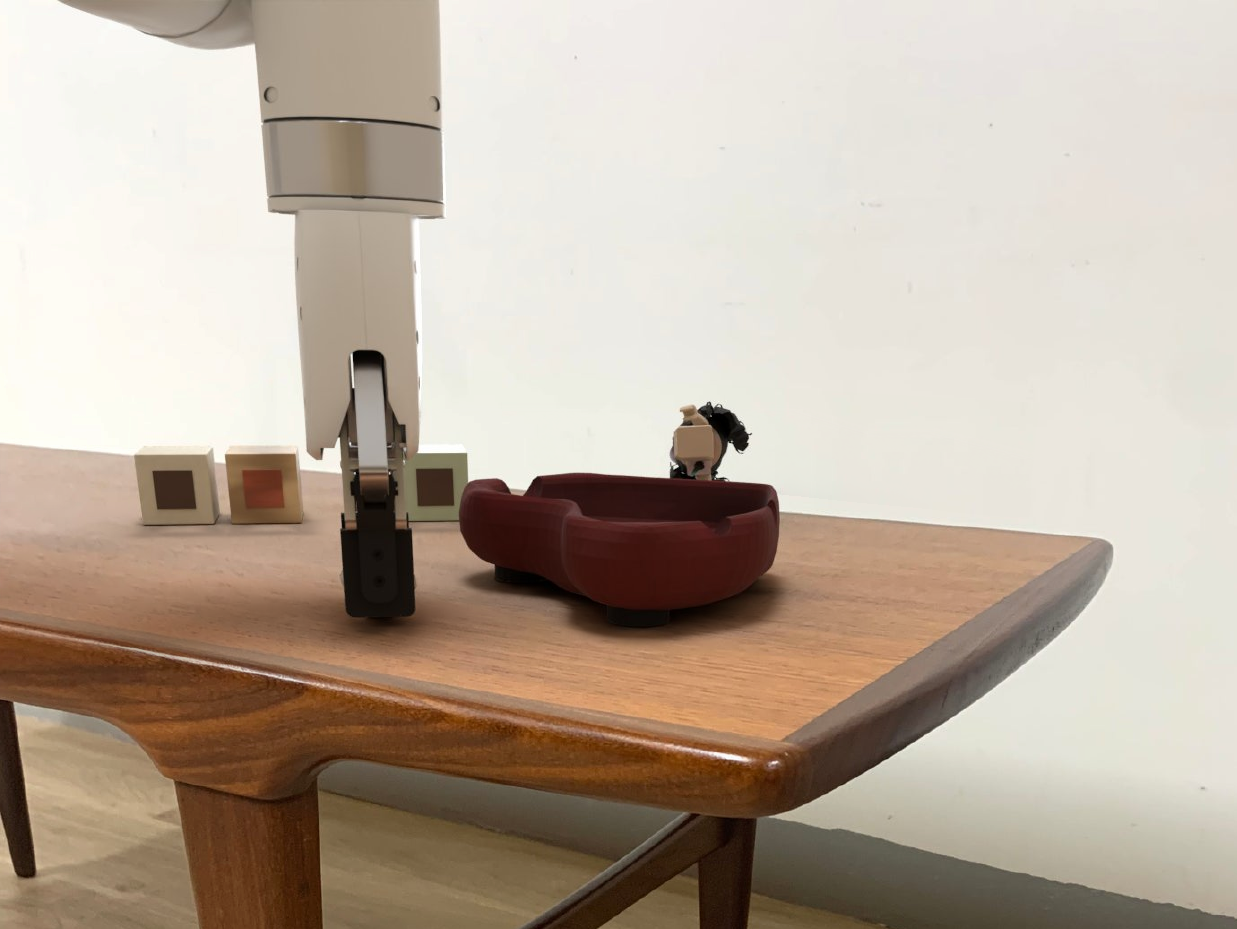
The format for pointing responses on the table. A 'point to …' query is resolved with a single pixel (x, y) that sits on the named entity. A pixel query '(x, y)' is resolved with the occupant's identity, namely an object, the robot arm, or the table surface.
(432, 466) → the block
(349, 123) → the robot arm
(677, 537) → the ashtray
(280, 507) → the block
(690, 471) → the toy figure
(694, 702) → the table surface
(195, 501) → the block
